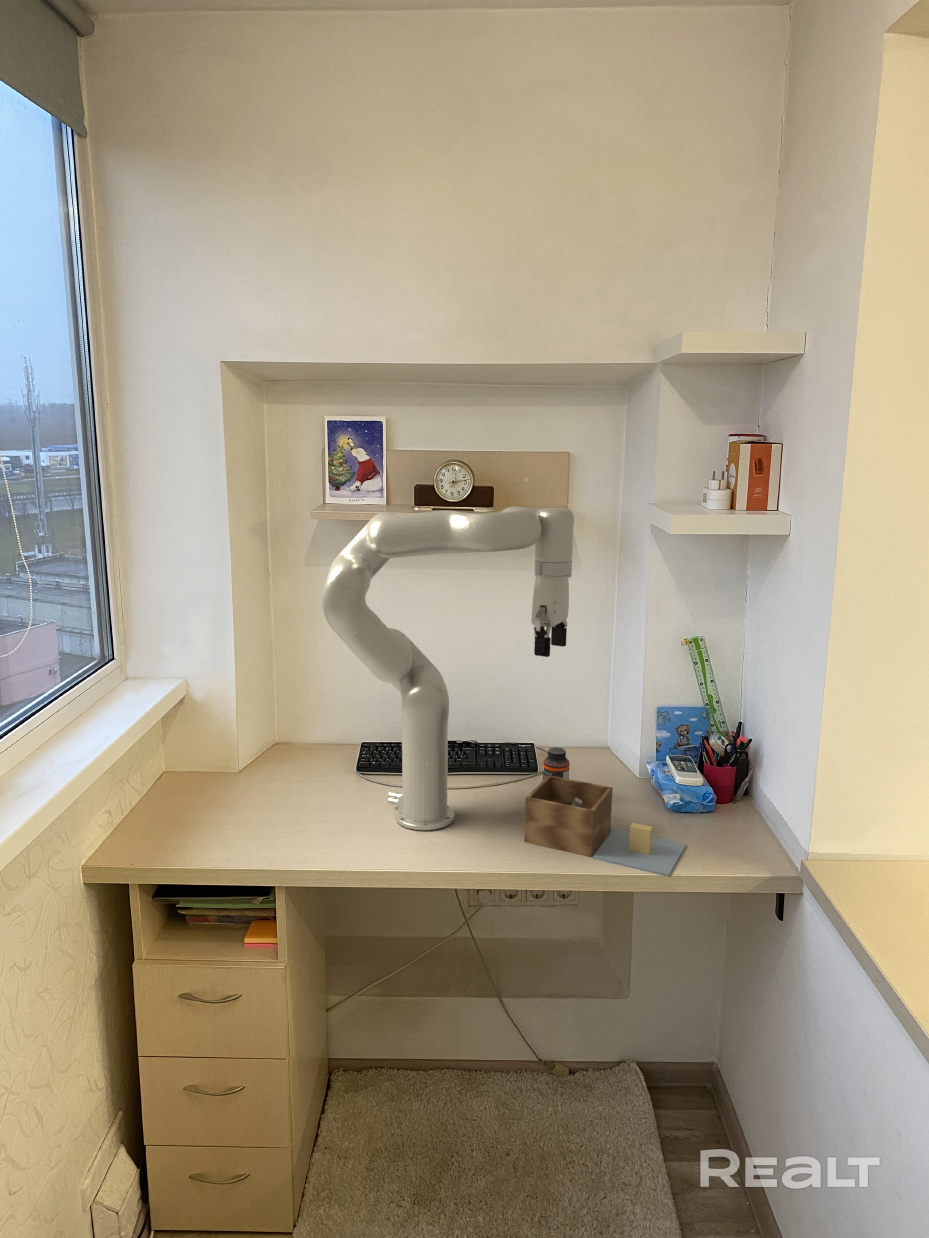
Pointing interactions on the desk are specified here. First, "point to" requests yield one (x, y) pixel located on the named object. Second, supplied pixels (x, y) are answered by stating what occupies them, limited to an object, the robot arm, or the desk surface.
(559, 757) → the supplement bottle
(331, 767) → the desk surface
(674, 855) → the lid
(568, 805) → the box
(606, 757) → the desk surface
